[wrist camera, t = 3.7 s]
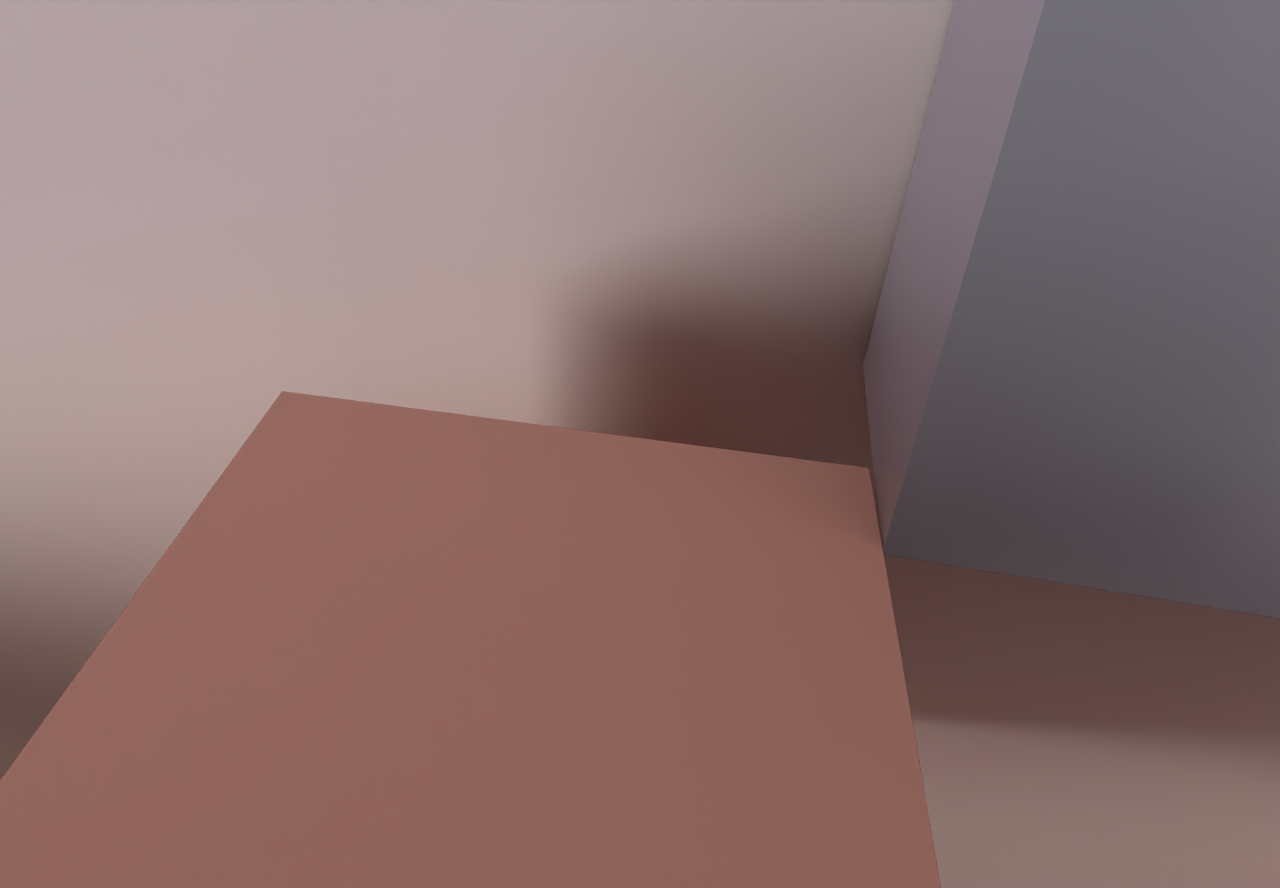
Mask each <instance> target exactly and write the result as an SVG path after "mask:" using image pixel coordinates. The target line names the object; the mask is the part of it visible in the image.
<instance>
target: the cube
mask: <svg viewBox="0 0 1280 888" xmlns="http://www.w3.org/2000/svg"><path fill="white" fill-rule="evenodd" d="M0 888H941V885H940V879H939V873H938V868H937V862H936V856H935V850H934V844H933V839H932V833H931V827H930V821H929V815H928V809H927V804H926V798H925V792H924V786H923V780H922V775H921V769H920V763H919V757H918V751H917V746H916V740H915V734H914V728H913V722H912V716H911V711H910V705H909V699H908V693H907V687H906V682H905V676H904V670H903V664H902V658H901V652H900V647H899V641H898V635H897V629H896V623H895V618H894V612H893V606H892V600H891V594H890V589H889V583H888V577H887V571H886V565H885V559H884V554H883V548H882V542H881V536H880V530H879V525H878V519H877V513H876V507H875V501H874V496H873V490H872V484H871V478H870V472H869V468H866V467H858V466H851V465H843V464H835V463H828V462H820V461H812V460H805V459H797V458H789V457H782V456H774V455H766V454H759V453H751V452H743V451H736V450H728V449H720V448H713V447H705V446H697V445H690V444H682V443H674V442H667V441H659V440H651V439H643V438H636V437H628V436H620V435H613V434H605V433H597V432H590V431H582V430H574V429H567V428H559V427H551V426H544V425H536V424H528V423H521V422H513V421H505V420H498V419H490V418H482V417H475V416H467V415H459V414H452V413H444V412H436V411H429V410H421V409H413V408H406V407H398V406H390V405H383V404H375V403H367V402H360V401H352V400H344V399H337V398H329V397H321V396H314V395H306V394H298V393H291V392H283V391H282V392H281V394H280V395H279V396H278V398H277V399H276V400H275V402H274V403H273V405H272V406H271V407H270V409H269V410H268V412H267V413H266V414H265V416H264V417H263V418H262V420H261V421H260V423H259V424H258V425H257V427H256V428H255V429H254V431H253V432H252V434H251V435H250V436H249V438H248V439H247V441H246V442H245V443H244V445H243V446H242V447H241V449H240V450H239V452H238V453H237V454H236V456H235V457H234V458H233V460H232V461H231V463H230V464H229V465H228V467H227V468H226V469H225V471H224V472H223V474H222V475H221V476H220V478H219V479H218V481H217V482H216V483H215V485H214V486H213V487H212V489H211V490H210V492H209V493H208V494H207V496H206V497H205V498H204V500H203V501H202V503H201V504H200V505H199V507H198V508H197V510H196V511H195V512H194V514H193V515H192V516H191V518H190V519H189V521H188V522H187V523H186V525H185V526H184V527H183V529H182V530H181V532H180V533H179V534H178V536H177V537H176V539H175V540H174V541H173V543H172V544H171V545H170V547H169V548H168V550H167V551H166V552H165V554H164V555H163V556H162V558H161V559H160V561H159V562H158V563H157V565H156V566H155V568H154V569H153V570H152V572H151V573H150V574H149V576H148V577H147V579H146V580H145V581H144V583H143V584H142V585H141V587H140V588H139V590H138V591H137V592H136V594H135V595H134V596H133V598H132V599H131V601H130V602H129V603H128V605H127V606H126V608H125V609H124V610H123V612H122V613H121V614H120V616H119V617H118V619H117V620H116V621H115V623H114V624H113V625H112V627H111V628H110V630H109V631H108V632H107V634H106V635H105V637H104V638H103V639H102V641H101V642H100V643H99V645H98V646H97V648H96V649H95V650H94V652H93V653H92V654H91V656H90V657H89V659H88V660H87V661H86V663H85V664H84V666H83V667H82V668H81V670H80V671H79V672H78V674H77V675H76V677H75V678H74V679H73V681H72V682H71V683H70V685H69V686H68V688H67V689H66V690H65V692H64V693H63V694H62V696H61V697H60V699H59V700H58V701H57V703H56V704H55V706H54V707H53V708H52V710H51V711H50V712H49V714H48V715H47V717H46V718H45V719H44V721H43V722H42V723H41V725H40V726H39V728H38V729H37V730H36V732H35V733H34V735H33V736H32V737H31V739H30V740H29V741H28V743H27V744H26V746H25V747H24V748H23V750H22V751H21V752H20V754H19V755H18V757H17V758H16V759H15V761H14V762H13V764H12V765H11V766H10V768H9V769H8V770H7V772H6V773H5V775H4V776H3V777H2V779H1V780H0Z"/></svg>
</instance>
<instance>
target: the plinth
mask: <svg viewBox="0 0 1280 888" xmlns="http://www.w3.org/2000/svg"><path fill="white" fill-rule="evenodd" d="M863 373H864V383H865V393H866V403H867V413H868V423H869V433H870V443H871V453H872V463H873V472H874V482H875V492H876V502H877V512H878V522H879V530H880V536H881V542H882V548H883V554H884V555H890V556H896V557H902V558H909V559H915V560H921V561H927V562H933V563H940V564H946V565H952V566H958V567H964V568H971V569H977V570H983V571H989V572H995V573H1002V574H1008V575H1014V576H1020V577H1026V578H1032V579H1039V580H1045V581H1051V582H1057V583H1063V584H1070V585H1076V586H1082V587H1088V588H1094V589H1101V590H1107V591H1113V592H1119V593H1125V594H1132V595H1138V596H1144V597H1150V598H1156V599H1163V600H1169V601H1175V602H1181V603H1187V604H1193V605H1200V606H1206V607H1212V608H1218V609H1224V610H1231V611H1237V612H1243V613H1249V614H1255V615H1262V616H1268V617H1274V618H1280V0H955V1H954V5H953V9H952V13H951V17H950V21H949V25H948V29H947V33H946V37H945V41H944V45H943V49H942V53H941V57H940V61H939V65H938V69H937V73H936V77H935V81H934V85H933V89H932V93H931V97H930V101H929V105H928V109H927V113H926V117H925V121H924V125H923V129H922V133H921V137H920V140H919V144H918V148H917V152H916V156H915V160H914V164H913V168H912V172H911V176H910V180H909V184H908V188H907V192H906V196H905V200H904V204H903V208H902V212H901V216H900V220H899V224H898V228H897V232H896V236H895V240H894V244H893V248H892V252H891V256H890V260H889V264H888V268H887V272H886V276H885V280H884V284H883V288H882V292H881V296H880V300H879V304H878V307H877V311H876V315H875V319H874V323H873V327H872V331H871V335H870V339H869V343H868V347H867V351H866V355H865V359H864V363H863Z"/></svg>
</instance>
